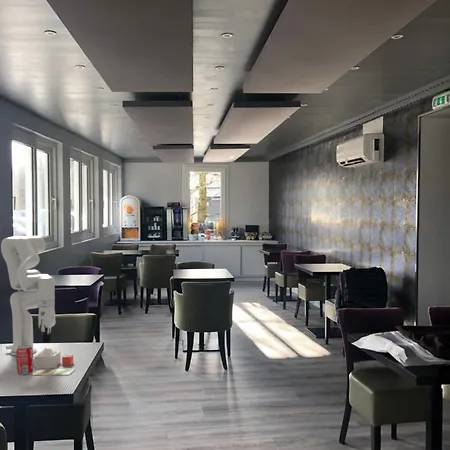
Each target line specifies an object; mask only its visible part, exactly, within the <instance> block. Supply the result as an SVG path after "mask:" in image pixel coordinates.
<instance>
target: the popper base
mask: <svg viewBox="0 0 450 450" xmlns="http://www.w3.org/2000/svg"><path fill="white" fill-rule="evenodd" d="M42 351H43V350H42ZM42 351H40V352H42ZM54 351H55V354H54V355H53V356H40V352H38V353H37V354H36V355H34V369H55V368H56V367H57V366H58V365H60V364H62V355H61V350H60V351H59V350H54Z"/></svg>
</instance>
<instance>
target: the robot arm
mask: <svg viewBox="0 0 450 450" xmlns="http://www.w3.org/2000/svg"><path fill="white" fill-rule="evenodd" d="M46 246H47V245H46V241H45V239H44V237H42V236H40V235H30V236H28V235H27V236H9V237H5V238H3V240H2V241H1V244H0V249H1V254H2V257H3V259H4V261H5V263H6V267H7V272H8V278H9V283H10V287H11V288H12V289H14V290H19V291H15V292H13V293H12V294H11V295H10V298H9V302H10V307H11V314H12V315H11V316H12V341H13V342H12V344H6V345H5V349H6V350H10V351H9V353H10V355H11V356H16V351H17V349H18V346H21V345H31V347H32V349H33V354H35V353H36V352H37V347H36V348H35V347H34V328H33V327H34V326H33V322H34V321H33V316H32V315H31V313H30V312H29V311H28V310H30V309H31V310H32V309H37V308H38V328H39V329H41V330H40V331H41V333H42V343H50V342H51V333H52V327H54V326H55V325H56V310H55V305H56V304H55V300H56V299H55V298H56V297H55V296H56V295H55V289H56V287H55V278H54V277H53V276H51V275H49V274H48V273H41V271H39V270H38V269H33V268H35V267H36V266H37V265H38V264H39V263H40V261H41V260H40V256H39V254H38V253H42V252H45V250H46V248H47V247H46Z"/></svg>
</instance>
